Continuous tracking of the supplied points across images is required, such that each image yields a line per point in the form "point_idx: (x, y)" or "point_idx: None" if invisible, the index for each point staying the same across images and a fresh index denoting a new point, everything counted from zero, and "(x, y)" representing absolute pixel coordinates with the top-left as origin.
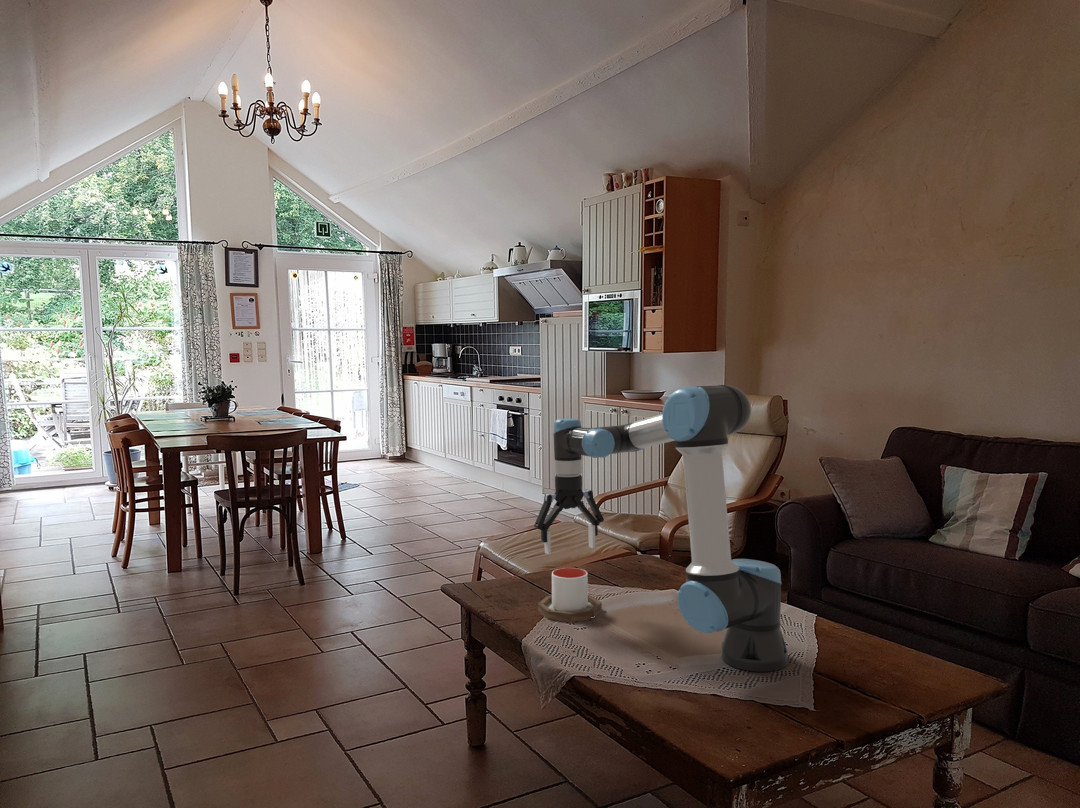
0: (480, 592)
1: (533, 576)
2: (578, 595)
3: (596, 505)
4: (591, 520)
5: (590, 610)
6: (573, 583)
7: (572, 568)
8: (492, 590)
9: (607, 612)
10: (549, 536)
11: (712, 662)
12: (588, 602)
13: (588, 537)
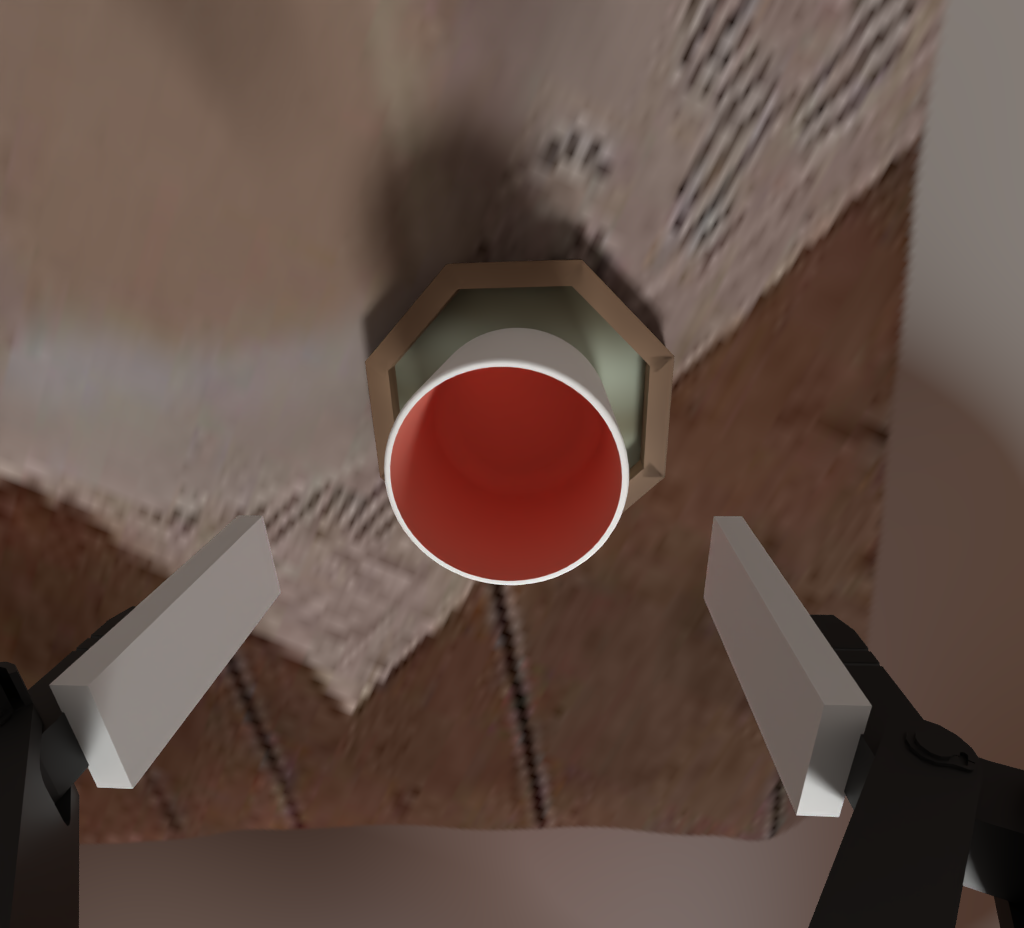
0: (763, 746)
1: (491, 808)
2: (503, 339)
3: None
4: (28, 768)
5: (464, 271)
6: (532, 355)
7: (445, 562)
8: (709, 747)
9: (360, 315)
10: (805, 643)
11: None
12: None
13: (234, 653)
